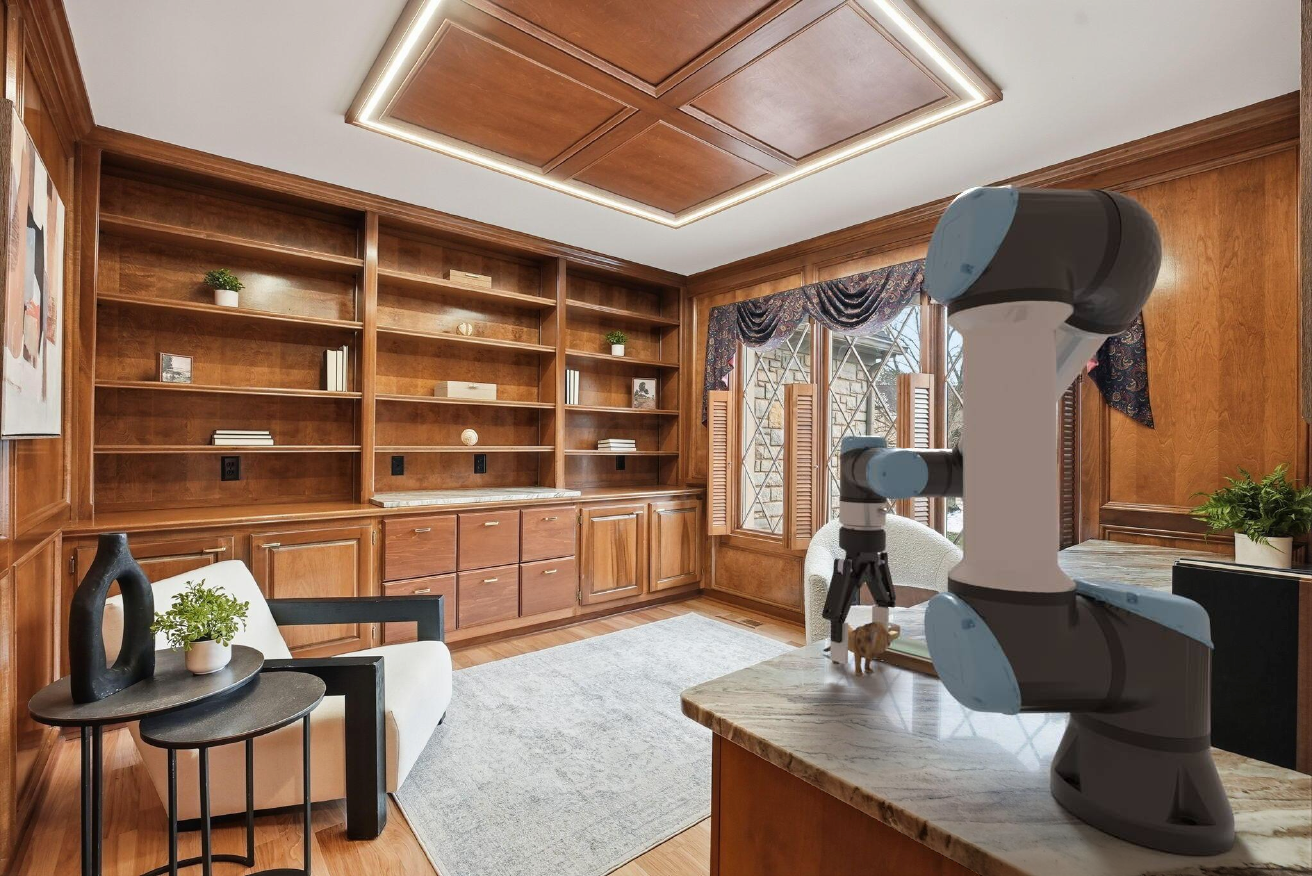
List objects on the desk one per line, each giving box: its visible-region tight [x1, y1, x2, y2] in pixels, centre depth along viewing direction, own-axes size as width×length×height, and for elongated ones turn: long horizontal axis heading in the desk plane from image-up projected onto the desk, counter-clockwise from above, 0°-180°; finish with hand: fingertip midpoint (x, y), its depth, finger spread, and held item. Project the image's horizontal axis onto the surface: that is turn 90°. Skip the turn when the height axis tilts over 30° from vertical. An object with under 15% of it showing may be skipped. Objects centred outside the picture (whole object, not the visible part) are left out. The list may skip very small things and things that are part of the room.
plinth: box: [876, 631, 939, 677], centre depth 108 cm, size 10×21×3 cm, turn 43°
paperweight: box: [888, 622, 901, 636], centre depth 122 cm, size 5×5×3 cm
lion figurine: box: [822, 622, 894, 677], centre depth 107 cm, size 15×5×9 cm, turn 27°
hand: (860, 652), depth 105 cm, fingers open, 13 cm apart
